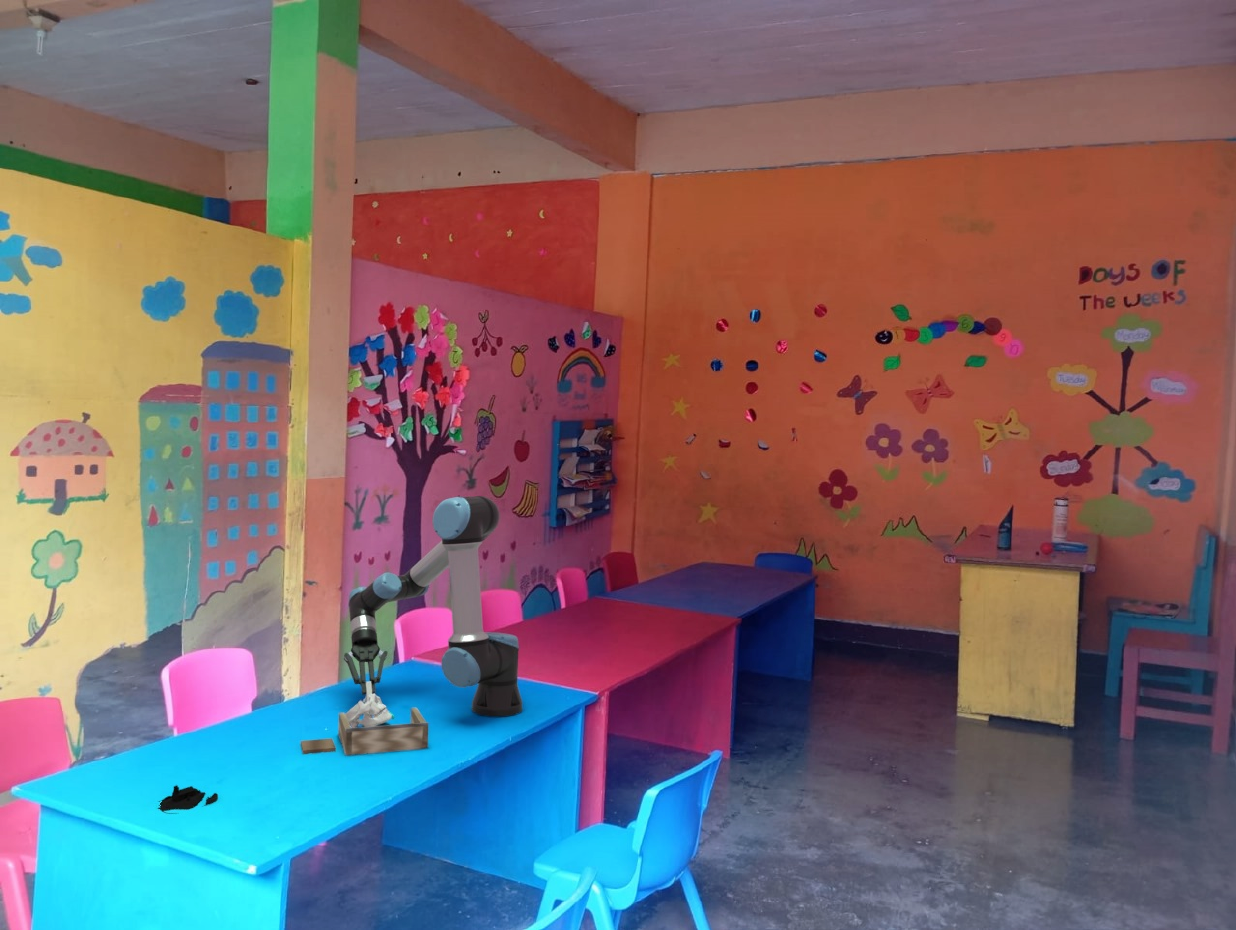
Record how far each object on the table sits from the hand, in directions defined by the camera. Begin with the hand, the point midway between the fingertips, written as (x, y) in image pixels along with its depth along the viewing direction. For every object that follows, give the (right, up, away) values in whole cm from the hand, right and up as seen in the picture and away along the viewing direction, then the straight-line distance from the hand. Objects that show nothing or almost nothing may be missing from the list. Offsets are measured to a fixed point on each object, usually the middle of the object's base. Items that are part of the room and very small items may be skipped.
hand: (369, 703), depth 286 cm
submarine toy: (-24, -6, -67) cm, 72 cm away
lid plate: (-6, -5, -28) cm, 29 cm away
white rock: (+3, -5, -8) cm, 9 cm away
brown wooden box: (+9, -5, -21) cm, 23 cm away
